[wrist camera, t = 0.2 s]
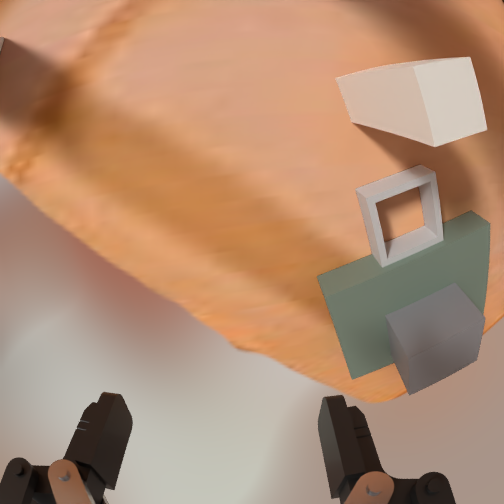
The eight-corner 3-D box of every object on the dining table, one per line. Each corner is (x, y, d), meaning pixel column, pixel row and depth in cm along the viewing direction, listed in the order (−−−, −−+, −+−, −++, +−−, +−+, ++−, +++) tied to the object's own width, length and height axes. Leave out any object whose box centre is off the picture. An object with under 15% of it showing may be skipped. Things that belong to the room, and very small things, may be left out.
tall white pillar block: (335, 77, 24) (412, 66, 11) (376, 66, 23) (470, 56, 11) (351, 122, 26) (434, 147, 14) (391, 109, 25) (487, 129, 13)
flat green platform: (292, 213, 30) (316, 271, 20) (464, 148, 27) (531, 176, 17) (345, 359, 41) (364, 420, 31) (469, 301, 37) (506, 347, 28)
